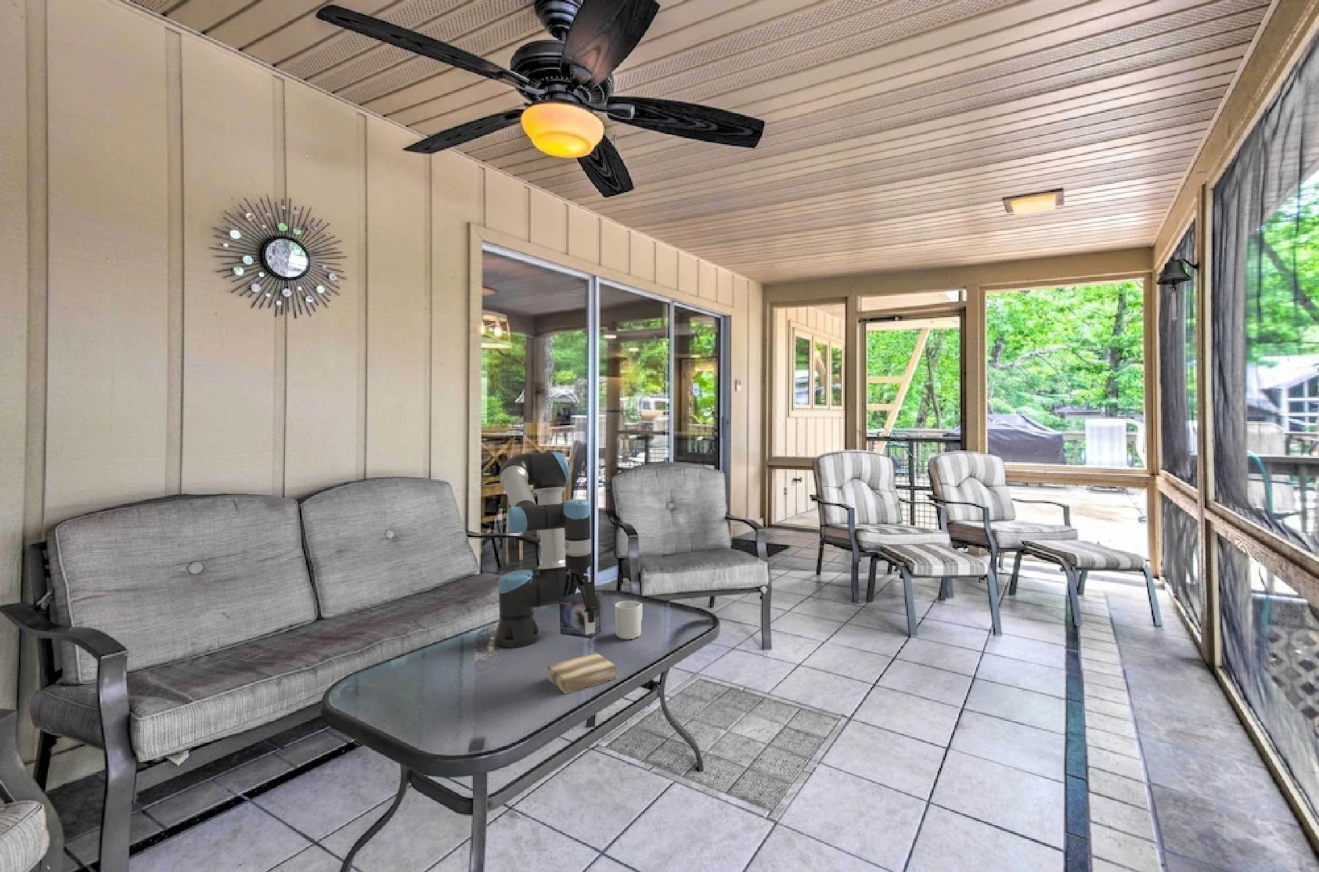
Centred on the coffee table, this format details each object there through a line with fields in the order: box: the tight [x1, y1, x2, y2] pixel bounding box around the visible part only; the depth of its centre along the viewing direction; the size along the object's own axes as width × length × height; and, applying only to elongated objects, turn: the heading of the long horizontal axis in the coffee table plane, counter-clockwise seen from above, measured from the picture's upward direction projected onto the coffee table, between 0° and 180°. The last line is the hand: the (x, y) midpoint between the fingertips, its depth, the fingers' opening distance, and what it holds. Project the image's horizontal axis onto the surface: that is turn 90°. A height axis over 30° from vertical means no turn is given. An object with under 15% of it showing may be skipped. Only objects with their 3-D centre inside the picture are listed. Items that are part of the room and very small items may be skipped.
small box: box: [559, 593, 602, 640], centre depth 176 cm, size 11×6×10 cm, turn 68°
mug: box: [614, 600, 643, 641], centre depth 211 cm, size 12×9×11 cm
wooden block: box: [547, 652, 617, 695], centre depth 176 cm, size 12×16×4 cm
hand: (580, 627), depth 176 cm, fingers closed on small box, 12 cm apart
